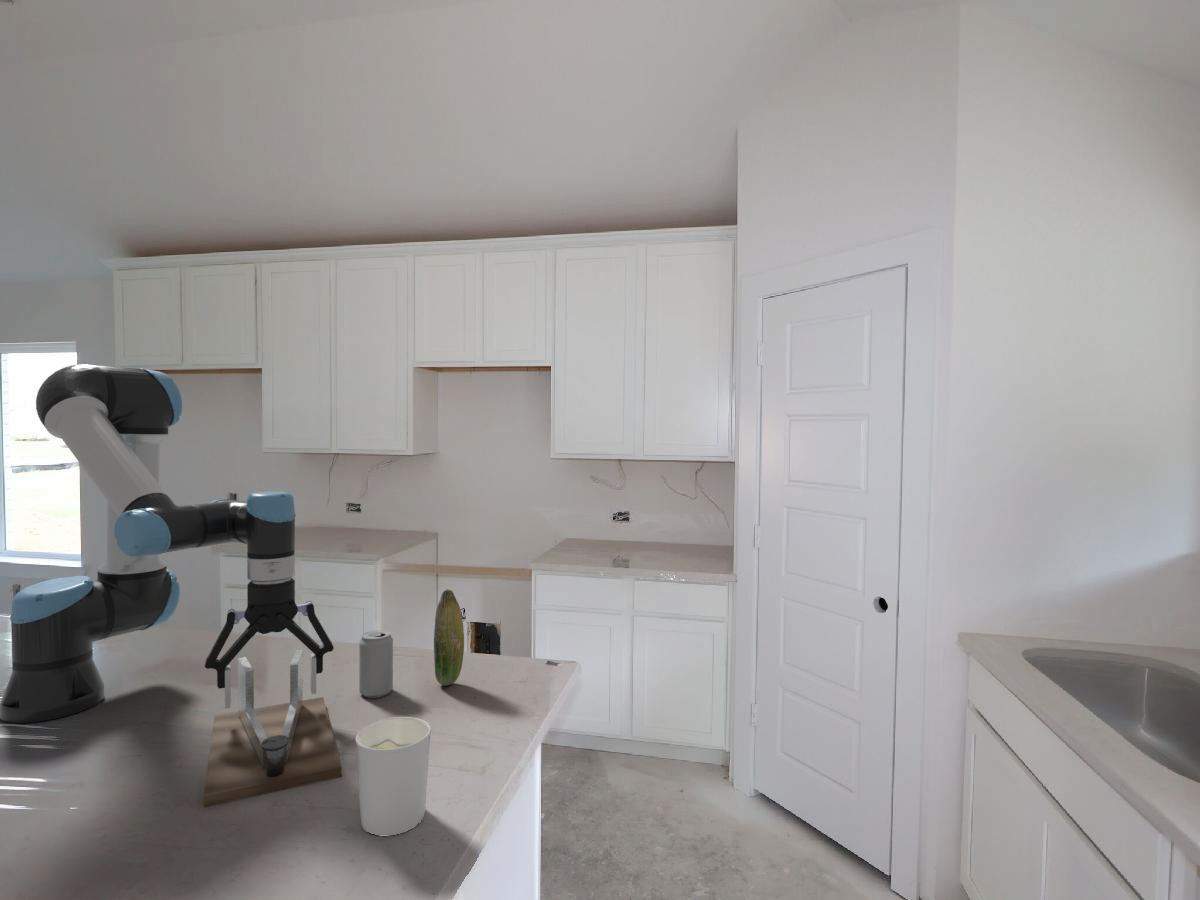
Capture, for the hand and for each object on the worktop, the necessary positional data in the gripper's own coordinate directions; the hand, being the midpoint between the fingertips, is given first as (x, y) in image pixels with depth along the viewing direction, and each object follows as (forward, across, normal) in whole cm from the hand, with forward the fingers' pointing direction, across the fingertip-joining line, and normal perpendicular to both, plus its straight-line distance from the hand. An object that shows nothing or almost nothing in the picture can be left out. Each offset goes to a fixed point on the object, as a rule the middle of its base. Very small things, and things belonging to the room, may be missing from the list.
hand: (271, 698), depth 116 cm
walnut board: (+5, 0, -9) cm, 10 cm away
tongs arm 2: (+3, +3, -8) cm, 9 cm away
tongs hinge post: (+4, 0, -21) cm, 21 cm away
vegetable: (+5, +33, +4) cm, 34 cm away
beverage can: (+5, +19, +7) cm, 21 cm away
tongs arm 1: (+3, -3, -8) cm, 9 cm away
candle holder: (+5, +14, -38) cm, 41 cm away
